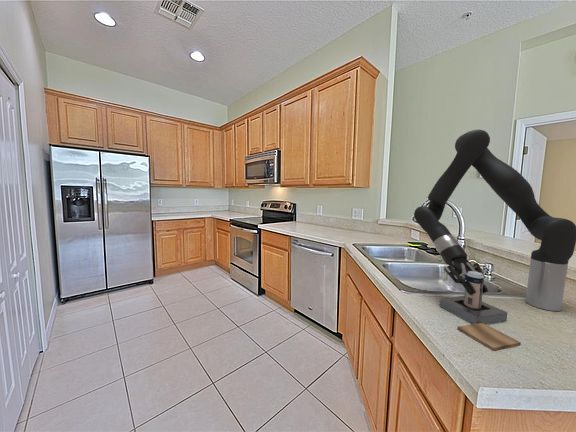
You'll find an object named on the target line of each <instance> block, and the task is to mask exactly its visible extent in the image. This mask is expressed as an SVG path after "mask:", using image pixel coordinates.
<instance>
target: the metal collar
mask: <svg viewBox="0 0 576 432" xmlns="http://www.w3.org/2000/svg"><path fill="white" fill-rule="evenodd" d="M439 299H440V300H439V308H442V309H444V310H446V311H447V312H449V313H451V314H453V315H455V316H457V317H459V318H460V319H462V320H464V321H466V322H467V323H469V324H470V325H471V324H477V323H484V324H486V325H491V324H496V323H497V324H498V323H502V322H507V319H508V312H507V311H506V310H504V309H500V308H499V307H496V306H494V305H491V304H490V303H486V302H485V301H482V302H481V308H479V309H471V308H469V307H467V306H466V305H465V304H464V295H457V296H450V297H442V298H441V297H440V298H439Z"/></svg>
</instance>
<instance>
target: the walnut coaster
mask: <svg viewBox="0 0 576 432" xmlns="http://www.w3.org/2000/svg"><path fill="white" fill-rule="evenodd" d="M456 330H458V331H459V332H461V333H463V334H465V335H466V336H468V337H470V338H471V339H473V340H474V341H476V342H478V343H480V344H481V345H483V346H484V347H485V348H488V349H489V350H491V351H500V350H503V349H510V348H513V347H518V346H521V345H522V343H521V341H519V340H517V339H515V338H513V337H512V336H509V335H507V334H505V333H503V332H502V331H500V330H497V329H496V328H493V327H492V326H490V325H489V324H484V323H477V324H471V323H470V324H466V325H460V326H457V329H456Z"/></svg>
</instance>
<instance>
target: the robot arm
mask: <svg viewBox="0 0 576 432" xmlns="http://www.w3.org/2000/svg"><path fill="white" fill-rule="evenodd" d="M490 143H491V137H490V135H489V133H488V132H487V131H486V130H483V129H473V130H470V131H467V132H465V133H463V134H461V135H460V136H459V137H458V138H457V139H456V141H455V143H454V148H455V152H456V154H455V155H454V158H453V160H452V161H451V163H450V165H449V166H448V167H447V168H446V169H445V171H444V172H443V173H442V174H441V176H440V177H439V179H438V180H437V181H436V183H435V184H434V186H433V187H432V189H431V191H430V192H429V193H428V196H427V200H428V201H429V204H428V206H424V205H423V206H422V205H421V206H418V207H416V209H415V210H414V213H413V216H414V217H413V218H414V219H415V221H416V223H417V224H418V225H419V226H420V228H422V230H423V231H424V232H426V234H427V235H428V237H429V238H430V240H431V242H432V243H433V245H434V247H435V249H436V250H437V252H438V254H439V255H440V257H441V258H442V260H443V262H444V263H445V264H446V265H447V266H446V267H444V268H443V270H444V272H445V273H446V274H447V275H448V276H449V277H450V278H451V280H452V281H453V282H454V283H456V284H460V285H462V287H463V288H464V290H465V289H466V291H467V292H468V293H469V294H470V295H473V294H475V293H476V291H475V289H474V288H473V287H472V285H471V284H470V282H468V279H467V273H468V271H476V272H480V273H482V274H483V276H484V279H486V276H485V274H484V272H483V270H482V269H481V267H480V264H479V263H478V262H475V263H471V262H470V260H468V254H467V252H466V251H465V250H464V248H463V247H462V246H461V245H462V244H460V242H459V241H458V240H457V238H455V236H453V234H452V233H451V232H450V229H448V228H447V226H446V225H444V224H443V223H442V222H440V221H439V220H441V218H442V216H443V212H444V211H445V207H446V204H447V202H448V200H449V199H450V198H451V197H452V194H453V193H454V192H455V190H456V188H457V187H458V185H459V183H460V182H461V181H462V179H463V178H464V176H465V174H466V173H467V172H468V170H469V169H470V168H471V166H472V167H473V168H474V169H475V170H476V172H478V174H479V175H480V176H481V178H482V179H483V181H484V182H486V184H487V185H488V186H489V187H490V188H491V189H492V191H493V192H494V193H495V194H496V195H497V196H498V197H499V198H500V199H501V200H502V201H503V202H504V203H505V204H506V205H507V206H508V207H509V209H510V210H512V211H513V212H514V214H515V215H517V217H518V218H519V219H520V221H521V222H522V224H523V225H524V226H525V228H526V229H527V230H528V232H529V233H530V235H532V236H533V237H534V238H535V239H537V240H539V241H541V242H540V245H539V248H538V249H535V250H532V251H531V253H530V261H529V262H530V264H529V269H528V270H529V271H528V278H527V284H526V286H527V287H526V290H525V291H526V292H525V303H527V304H528V305H530V306H533V307H535V308H537V309H541V310H545V311H546V310H547V311H550V312H551V311H552V312H560V311H562V308H563V301H564V295H565V294H564V293H565V287H566V280H567V273H568V266H569V261H570V259H571V258H572V257H573V255H574V253H575V249H576V224H575V223H574V222H573V221H572V220H569V219H567V218H562V217H554V216H551V215H550V214H549V213H547V212H546V211H545V210H544V209H543V208H542V207H541V206H540V204H539V203H538V202H537V200H536V197H535V193H534V190H533V187H532V185H531V184H530V183H529V182H528V180H527V179H526V178H525V177H524V176H523V175H522V174H521V173H520V172H519V171H518V170H517V169H515V168H514V167H512V166H511V165H509V164H508V163H506V162H504V160H503V161H502V160H501V159H499V158H498V157H496V155H494V154H493V153H492V152H491V150H490V149H489V146H490ZM487 292H488V293H489V289H488V287H487V286H486V284H485V283H483V293H482V294H486V293H487Z"/></svg>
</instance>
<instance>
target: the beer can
mask: <svg viewBox="0 0 576 432" xmlns="http://www.w3.org/2000/svg"><path fill="white" fill-rule="evenodd" d="M483 274H484V273H483ZM483 274H482V273H480V272H476V271H468V273H467V279H468V282H470V284H471V285H472V287H473V288H474V289H475V291H476V293H475V294H473V295H470V294H469V293H468V292H467V291H466V289H465V288H464V294H463V296H464V304H465V305H466V306H467V307H466V308H468V309H471V310H474V309H479V308H481V302H483V294H484V293H483V283H484V282H485V278H484V276H485V275H484V276H483ZM484 284H485V283H484Z"/></svg>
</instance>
